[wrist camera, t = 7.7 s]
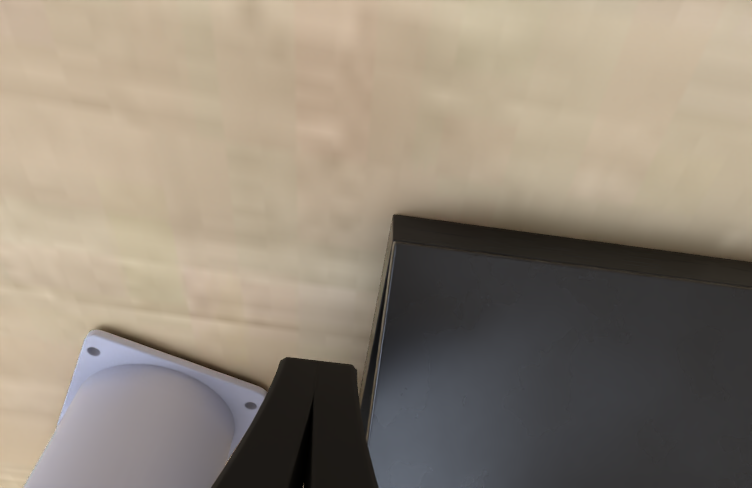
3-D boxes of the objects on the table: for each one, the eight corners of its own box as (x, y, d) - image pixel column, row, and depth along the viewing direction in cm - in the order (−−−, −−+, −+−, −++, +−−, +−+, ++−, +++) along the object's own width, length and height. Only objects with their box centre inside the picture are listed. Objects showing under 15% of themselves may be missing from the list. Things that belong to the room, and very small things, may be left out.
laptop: (837, 574, 34) (855, 605, 33) (335, 522, 33) (333, 552, 31) (1170, 317, 22) (1222, 350, 21) (393, 213, 20) (392, 241, 19)
